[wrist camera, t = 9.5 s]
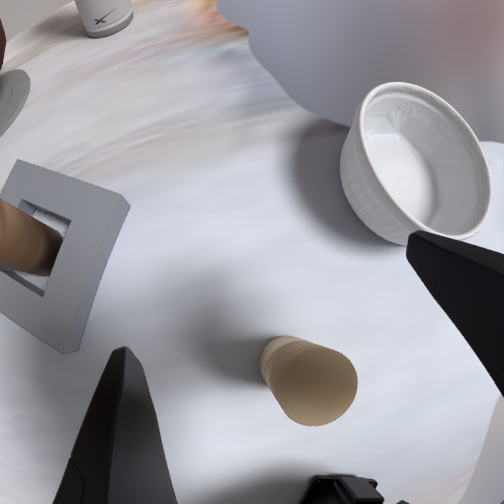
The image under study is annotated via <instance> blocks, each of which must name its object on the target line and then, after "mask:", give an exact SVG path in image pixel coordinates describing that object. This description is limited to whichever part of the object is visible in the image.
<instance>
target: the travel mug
mask: <svg viewBox="0 0 504 504" xmlns="http://www.w3.org/2000/svg"><path fill="white" fill-rule="evenodd" d="M75 3H76V6H77V9H78V11H79V14H80V17H81V19H82V22H83V24H84V27H85V30H86V32H87V34H88V35H89V36H91V37H96V38H97V37H105V36H108V35H111V34H114V33H116V32H118V31H120V30H121V29H123V28H124V27H126V26H127V25H128V24H129V23H130V22H131V21H132V19H133V11H132V7H131V2H130V0H75Z"/></svg>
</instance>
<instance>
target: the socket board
mask: <svg viewBox="0 0 504 504" xmlns="http://www.w3.org/2000/svg"><path fill="white" fill-rule="evenodd" d="M0 198H1V199H3V200H4V201H6V202H8V203H9V204H11V205H13V206H14V207H16V208H18V209H19V210H21V211H23V212H25V213H26V214H28V215H30V216H31V217H33V214H34V212H35V210H36V208H37V209H40V210H42V211H44V212H46V213H49V214H51V215H53V216H56V217H58V218H60V219H62V220H65V221H67V222H69V223H70V225H69V228H68V230H67V232H66V235H65V237H64V240H63V242H62V245H61V247H60V250H59V253H58V255H57V258H56V261H55V264H54V266H53V269H52V272H51V275H50V278H49V281H48V284H47V287H46V290H45V291H43V290H42V289H40V288H38V287H37V286H35V285H33V284H32V283H30V282H28V281H27V280H25V279H23V278H22V277H20V276H18V275H17V274H15V273H14V272H12V271H13V269H12V268H9V267H5V266H1V265H0V312H1V313H2V314H4V315H5V316H6V317H8V318H9V319H10V320H12V321H13V322H15V323H16V324H17V325H19V326H20V327H22V328H23V329H25V330H26V331H28V332H29V333H31V334H32V335H34V336H35V337H37V338H38V339H40V340H41V341H43V342H45V343H46V344H48V345H49V346H51V347H53V348H54V349H56V350H58V351H59V352H61V353H63V354H64V353H69V352H73V351H77V350H79V346H80V342H81V339H82V335H83V332H84V329H85V325H86V322H87V319H88V316H89V313H90V309H91V306H92V303H93V300H94V297H95V294H96V292H97V289H98V286H99V283H100V280H101V278H102V275H103V272H104V269H105V267H106V264H107V262H108V259H109V256H110V254H111V251H112V249H113V246H114V244H115V241H116V239H117V237H118V234H119V232H120V230H121V227H122V225H123V223H124V220H125V218H126V216H127V213H128V211H129V209H130V207H131V206H130V204H129V203H128V202H127V201H126V200H125V198H124V197H123V196H122V195H121V194H119V193H116V192H113V191H110V190H107V189H104V188H101V187H98V186H96V185H93V184H90V183H87V182H84V181H81V180H78V179H75V178H72V177H69V176H66V175H63V174H60V173H58V172H55V171H52V170H49V169H46V168H43V167H40V166H37V165H34V164H31V163H28V162H25V161H22V160H19V159H17V161H16V163H15V165H14V167H13V168H12V170H11V172H10V174H9V176H8V179H7V181H6V183H5V185H4V187H3V189H2V191H1V194H0Z"/></svg>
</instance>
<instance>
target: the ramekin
mask: <svg viewBox="0 0 504 504" xmlns="http://www.w3.org/2000/svg"><path fill="white" fill-rule="evenodd" d="M340 174H341V175H340V178H341V181H342V187H343V189H344V193H345V195H346V197H347V200H348V202H349V203H350V205H351V207H352V209H353V210H354V211H355V213H356V214H357V216H358V217H359V218H360V219H361V220H362V221H363V223H364V224H365V225H366V226H367V227H368V228H369V229H370V230H371V231H373V232H375V233H376V234H377V235H378V236H380V237H382V238H384V239H385V240H387V241H391V242H393V243H395V244H400V245H403V246H407V242H408V236H409V234H411V233H412V232H415V231H417V230H423V231H427V232H430V233H434V234H438V235H441V236H445V237H448V238H452V239H455V240H459V241H463V240H465V239H468V238H470V237H472V236H473V235H475V234H476V233H477V232H479V230H480V229H481V228H482V227H483V225H484V224H485V222H486V220H487V218H488V216H489V213H490V209H491V204H492V180H491V174H490V170H489V166H488V162H487V159H486V157H485V154H484V152H483V149H482V147H481V145H480V143H479V141H478V139H477V138H476V136H475V134H474V133H473V131H472V130H471V128H470V127H469V125H468V124H467V123H466V121H465V120H464V119H463V118H462V117H461V116H460V115H459V113H458V112H456V110H455V109H454V108H453V107H451V106H450V105H449V104H448V103H447V102H445V101H444V100H443V99H441V98H440V97H439V96H437V95H435V94H434V93H432V92H430V91H428V90H426V89H424V88H422V87H419V86H417V85H413V84H409V83H403V82H389V83H384V84H381V85H379V86H377V87H375V88H373V89H372V90H371V91H370V92H369V93H368V94H367V95H366V96H365V97H364V98H363V100H362V101H361V103H360V104H359V105H358V107H357V109H356V112H355V114H354V118H353V123H352V126H351V129H350V131H349V133H348V135H347V137H346V140H345V142H344V145H343V148H342V151H341V157H340Z"/></svg>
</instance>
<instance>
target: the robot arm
mask: <svg viewBox="0 0 504 504" xmlns="http://www.w3.org/2000/svg"><path fill="white" fill-rule="evenodd" d="M406 257H407V260H408V262H409V263H410V265H411V266H412V267H413V269H414V270H415V272H416V273H417V275H418V276H419V278H420V279H421V280H422V282H423V283H424V285H425V286H426V288H427V289H428V291H429V292H430V294H431V295H432V296H433V298H434V299H435V300H436V302H437V303H438V304H439V305H440V307H441V308H442V309H443V310H444V312H445V313H446V314H447V316H448V317H449V318H450V320H451V321H452V322H453V323H454V325H455V326H456V327H457V329H458V330H459V332H460V333H461V334H462V336H463V337H464V338H465V340H466V341H467V343H468V344H469V345H470V347H471V348H472V350H473V351H474V352H475V354H476V355H477V357H478V358H479V360H480V361H481V363H482V364H483V366H484V367H485V369H486V370H487V372H488V373H489V375H490V376H491V378H492V379H493V381H494V383H495V384H496V386H497V388H498V389H499V391H500V392H501V394H502V396H503V397H504V254H502V253H499V252H495V251H492V250H489V249H486V248H483V247H479V246H476V245H473V244H469V243H466V242H462V241H459V240H455V239H452V238H448V237H445V236H441V235H438V234H434V233H430V232H427V231H423V230H417V231H415V232H412V233H411V234H409V236H408V242H407V250H406ZM318 480H320V481H319V482H317V483H316V481H318ZM371 484H373V485H371ZM377 485H378V483H377V482H376V481H375V480H373V479H365V478H362V477H345V476H340V477H327V476H316V477H314V478H313V479H312V481H311V483H310V484H309V486H308V488H307V490H306V492H305V494H304V496H303V497H302V499H301V501H300V503H299V504H383V502H384V498H383V496H382V495H381V494H380V493H379V492H378V491H377V490H376V487H377ZM53 504H178V503H177V500H176V496H175V493H174V489H173V486H172V482H171V478H170V474H169V470H168V466H167V462H166V458H165V454H164V449H163V445H162V440H161V435H160V430H159V425H158V421H157V416H156V412H155V409H154V405H153V402H152V399H151V395H150V392H149V388H148V385H147V381H146V377H145V374H144V370H143V367H142V365H141V363H140V362H139V360H138V359H137V358H136V357H135V355H134V354H133V353H132V352H131V350H130V349H129V348H128V347H126V346H124V347H121V348H118V349H115V350H113V352H112V353H111V356H110V358H109V360H108V362H107V365H106V367H105V369H104V371H103V374H102V376H101V378H100V381H99V383H98V385H97V388H96V390H95V392H94V395H93V397H92V400H91V402H90V405H89V407H88V410H87V412H86V415H85V417H84V420H83V422H82V425H81V428H80V430H79V433H78V436H77V438H76V441H75V444H74V447H73V449H72V452H71V457H70V458H69V461H68V464H67V467H66V469H65V472H64V475H63V478H62V481H61V484H60V486H59V489H58V491H57V494H56V496H55V499H54V501H53ZM396 504H409V503H407V502H405V501H404V500H401V501H400V502H398V503H396ZM501 504H504V501H503V502H502V503H501Z"/></svg>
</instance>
